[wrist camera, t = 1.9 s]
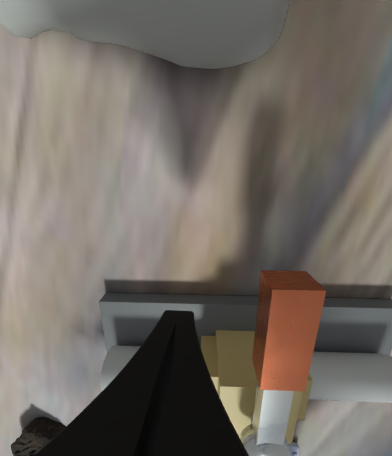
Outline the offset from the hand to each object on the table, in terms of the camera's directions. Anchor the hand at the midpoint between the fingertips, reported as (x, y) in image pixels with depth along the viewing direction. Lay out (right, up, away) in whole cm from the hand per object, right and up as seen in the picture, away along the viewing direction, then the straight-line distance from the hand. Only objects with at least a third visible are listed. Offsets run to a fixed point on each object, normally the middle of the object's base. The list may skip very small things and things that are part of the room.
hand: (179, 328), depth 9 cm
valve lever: (+5, -3, +1) cm, 6 cm away
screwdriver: (-7, +17, +3) cm, 19 cm away
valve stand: (+5, -6, +9) cm, 12 cm away
